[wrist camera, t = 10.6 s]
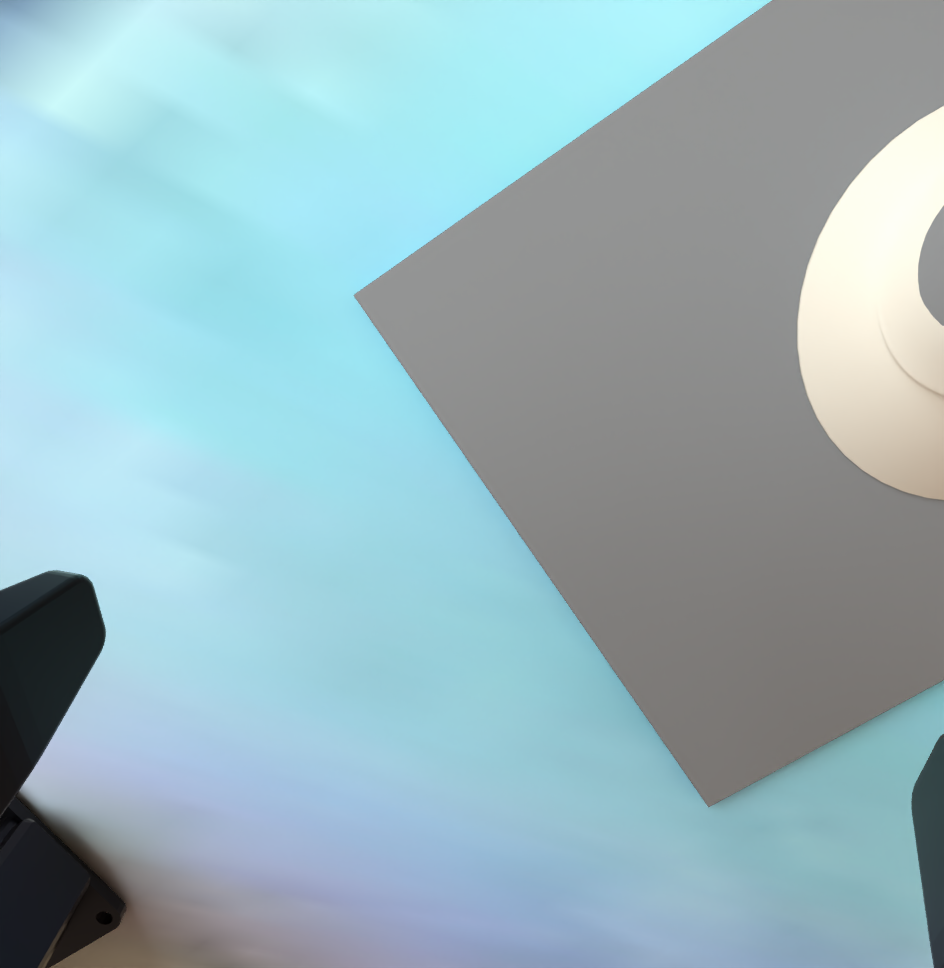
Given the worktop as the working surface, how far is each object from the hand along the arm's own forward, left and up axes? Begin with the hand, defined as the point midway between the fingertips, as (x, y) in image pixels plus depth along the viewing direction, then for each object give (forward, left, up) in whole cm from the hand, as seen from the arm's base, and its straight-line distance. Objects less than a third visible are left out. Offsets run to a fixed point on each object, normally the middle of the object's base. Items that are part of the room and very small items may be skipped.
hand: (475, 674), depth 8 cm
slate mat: (+11, -5, -12) cm, 17 cm away
